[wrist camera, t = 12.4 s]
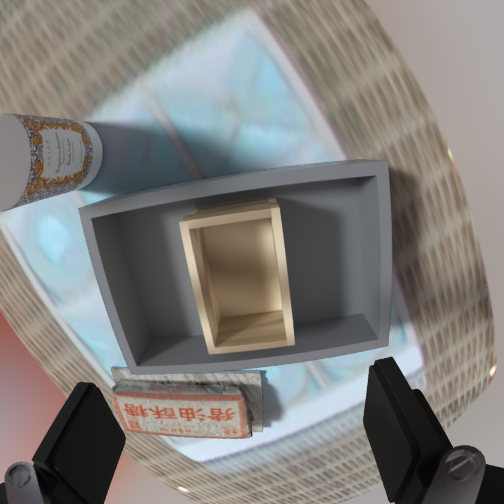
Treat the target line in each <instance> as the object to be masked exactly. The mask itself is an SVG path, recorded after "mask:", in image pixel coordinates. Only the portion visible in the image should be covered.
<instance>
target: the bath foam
mask: <svg viewBox="0 0 504 504" xmlns="http://www.w3.org/2000/svg"><path fill="white" fill-rule="evenodd" d="M102 157H103V148H102V143H101V139H100V137H99V135H98V133H97V132H96V130H95V129H94V128H93V127H92V126H90V125H89V124H87V123H85V122H82V121H75V120H68V119H60V118H51V117H42V116H31V115H19V114H0V212H3V211H7V210H10V209H13V208H16V207H19V206H22V205H26V204H29V203H32V202H35V201H39V200H42V199H46V198H49V197H53V196H56V195H60V194H64V193H67V192H71V191H74V190H78V189H81V188H83V187H85V186H86V185H88V184H89V183H90V182H91V181H92V180H93V179H94V178H95V176H96V175H97V173H98V171H99V169H100V166H101V163H102Z"/></svg>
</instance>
